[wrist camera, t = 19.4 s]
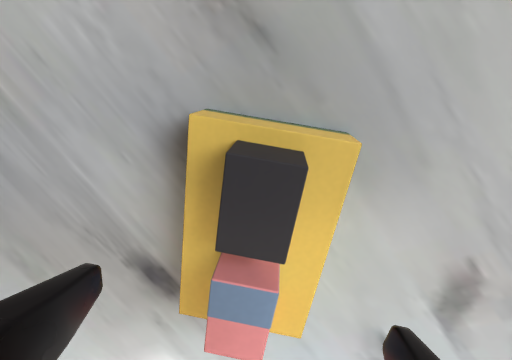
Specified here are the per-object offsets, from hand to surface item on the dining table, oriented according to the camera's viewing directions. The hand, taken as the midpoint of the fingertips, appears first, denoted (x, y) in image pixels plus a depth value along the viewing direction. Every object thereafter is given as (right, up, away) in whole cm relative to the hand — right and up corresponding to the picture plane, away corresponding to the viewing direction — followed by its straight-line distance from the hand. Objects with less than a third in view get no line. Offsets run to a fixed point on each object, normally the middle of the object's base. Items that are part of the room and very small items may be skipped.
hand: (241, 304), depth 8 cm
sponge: (+1, +1, +13) cm, 13 cm away
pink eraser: (0, -4, +11) cm, 12 cm away
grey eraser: (+1, +3, +8) cm, 9 cm away
